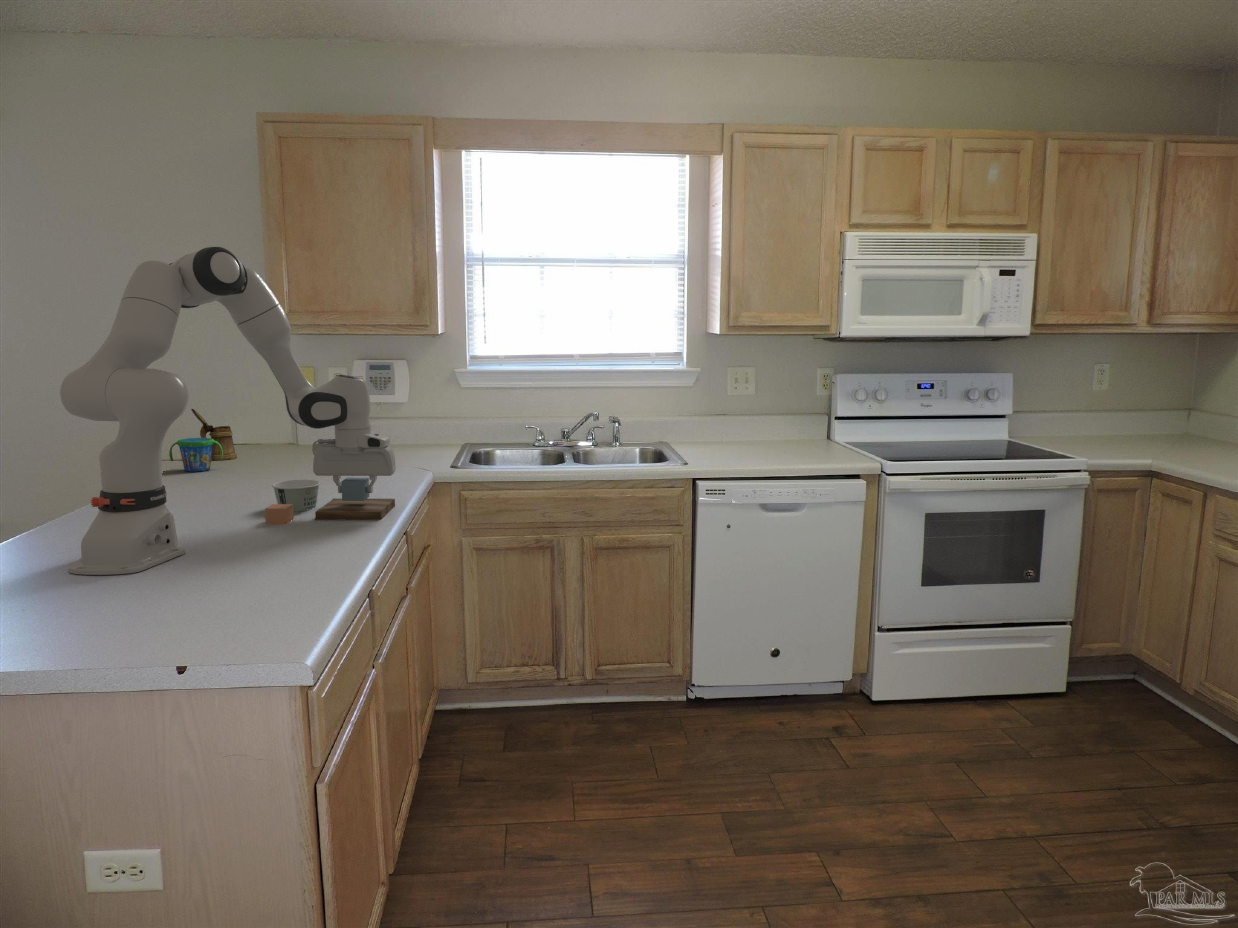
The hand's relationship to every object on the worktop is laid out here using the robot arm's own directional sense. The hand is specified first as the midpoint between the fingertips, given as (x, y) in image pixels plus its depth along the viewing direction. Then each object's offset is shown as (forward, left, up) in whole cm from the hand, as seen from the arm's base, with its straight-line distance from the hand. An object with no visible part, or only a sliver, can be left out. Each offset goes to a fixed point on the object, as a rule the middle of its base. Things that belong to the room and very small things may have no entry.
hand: (355, 492), depth 223 cm
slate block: (0, 0, -2) cm, 2 cm away
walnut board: (0, 0, -5) cm, 5 cm away
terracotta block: (-10, +16, -5) cm, 20 cm away
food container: (+6, +17, -6) cm, 19 cm away
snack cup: (+62, +67, -5) cm, 92 cm away
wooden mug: (+86, +71, -5) cm, 112 cm away
